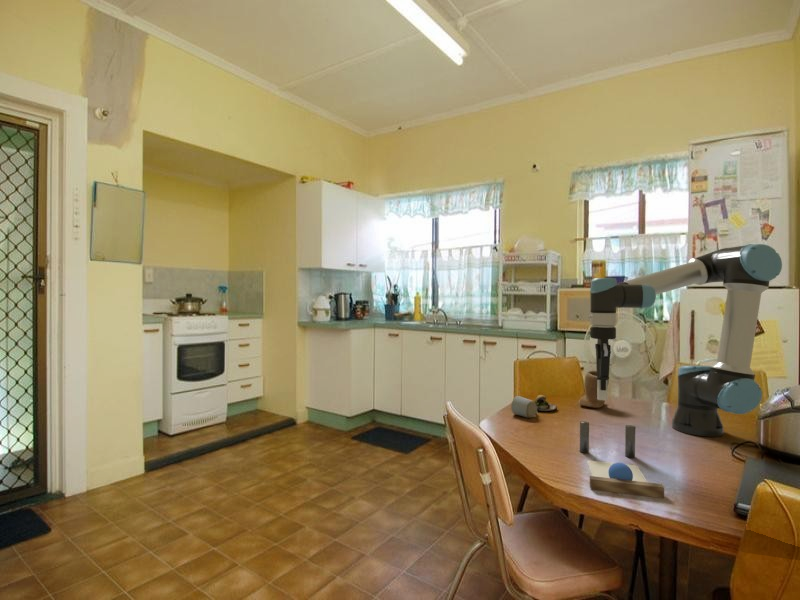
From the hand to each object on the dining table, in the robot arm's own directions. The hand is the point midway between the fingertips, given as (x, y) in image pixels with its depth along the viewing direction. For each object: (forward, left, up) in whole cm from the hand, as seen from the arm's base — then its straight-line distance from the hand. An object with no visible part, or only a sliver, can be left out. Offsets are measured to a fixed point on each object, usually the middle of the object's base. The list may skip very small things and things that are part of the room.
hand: (602, 399), depth 139 cm
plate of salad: (+17, -40, -15) cm, 46 cm away
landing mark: (0, +23, -14) cm, 27 cm away
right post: (-6, +9, -14) cm, 18 cm away
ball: (+1, +31, -12) cm, 33 cm away
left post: (+6, +9, -14) cm, 18 cm away
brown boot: (-5, -53, -15) cm, 55 cm away
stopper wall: (0, +35, -14) cm, 38 cm away
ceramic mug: (+24, -28, -15) cm, 39 cm away
